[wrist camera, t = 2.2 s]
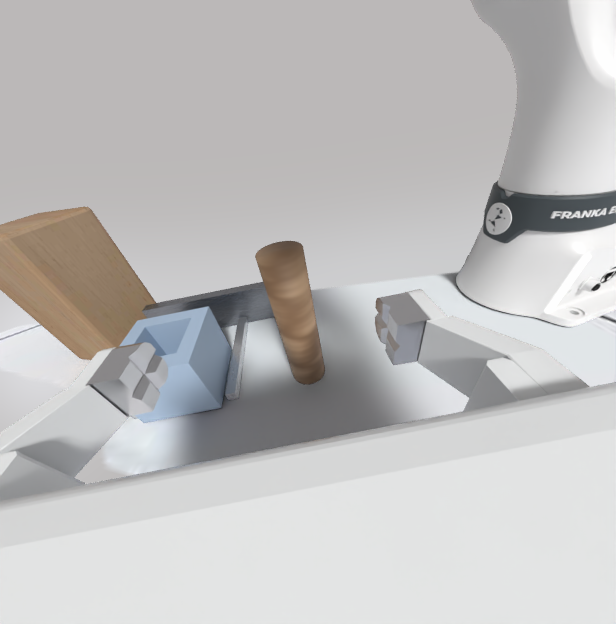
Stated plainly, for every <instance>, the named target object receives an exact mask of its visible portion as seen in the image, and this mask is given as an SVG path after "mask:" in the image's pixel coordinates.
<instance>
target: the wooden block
mask: <svg viewBox="0 0 616 624" xmlns="http://www.w3.org/2000/svg"><path fill="white" fill-rule="evenodd" d="M0 290H2V291H3V292H4V293H5V294H6V295H7V296H8V297H10V298H11V299H12V300H13V301H14V302H15V303H17V304H18V305H19V306H20V307H21V308H22V309H23V310H25V311H26V312H27V313H28V314H29V315H31V316H32V317H33V318H34V319H35V320H36V321H37V322H38V323H40V324H41V325H42V326H43V327H44V328H45V329H47V330H48V331H49V332H50V333H51V334H52V335H54V336H55V337H56V338H57V339H58V340H59V341H60V342H62V343H63V344H64V345H65V346H66V347H67V348H69V349H70V350H71V351H72V352H73V353H74V354H76V355H77V356H78V357H79V358H81V359H88V360H92V358H93V357H94V356H95V355H96V354H97V352H99V351H101V350H103V349H109V348H114V347H119V346H120V344H121V343H122V341H123V340H124V339H125V337H126V336H127V334H128V333H129V332H130V330H131V329H132V327H133V326H134V325H135V323H136V322H137V321H138V320H143V319H147V317H146V316H145V315H144V314H143V312H142V310H143V309H144V307H145V306H146V305H150V304H155V303H156V302H155V301H154V299H153V298H152V296H151V295H150V293H149V292H148V291H147V289H146V288H145V286H144V285H143V283H142V282H141V280H140V279H139V278H138V276H137V275H136V273H135V272H134V270H133V269H132V268H131V266H130V265H129V263H128V262H127V260H126V259H125V257H124V256H123V255H122V253H121V252H120V250H119V249H118V247H117V246H116V245H115V243H114V242H113V240H112V239H111V237H110V236H109V234H108V233H107V232H106V230H105V229H104V227H103V226H102V224H101V223H100V222H99V220H98V219H97V217H96V216H95V214H94V213H93V211H92V210H91V209H90V208H88V207H79V208H72V209H65V210H58V211H51V212H44V213H38V214H34V215H31V216H28V217H24V218H21V219H18V220H15V221H11V222H8V223H5V224H2V225H0Z"/></svg>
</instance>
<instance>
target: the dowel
mask: <svg viewBox="0 0 616 624" xmlns="http://www.w3.org/2000/svg"><path fill="white" fill-rule="evenodd" d="M255 257H256V260H257V263H258V267H259V270H260V273H261V276H262V279H263V282H264V285H265V288H266V292H267V295H268V298H269V301H270V304H271V307H272V310H273V313H274V316H275V320H276V323H277V326H278V329H279V332H280V335H281V338H282V341H283V345H284V348H285V351H286V354H287V357H288V360H289V363H290V366H291V369H292V373H293V376H294V378H295V379H296V381H298V382H299V383H302V384H313V383H315V382H317V381H319V380H320V379H321V378H322V377H323V375H324V372H325V367H324V362H323V356H322V350H321V345H320V339H319V334H318V328H317V323H316V317H315V312H314V306H313V300H312V295H311V289H310V284H309V279H308V273H307V267H306V262H305V256H304V250H303V246H302V245H301V244H300V243H298V242H295V241H282V242H277V243H273V244H270V245H268V246H265V247H263V248H262V249H261V250H259V251H258V252H257V253H256V256H255Z"/></svg>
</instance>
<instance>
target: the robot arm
mask: <svg viewBox="0 0 616 624" xmlns="http://www.w3.org/2000/svg"><path fill="white" fill-rule="evenodd" d="M471 2H472V4H473V7H474V9H475V11H476V13H477V14H478V16H479V17H480V19H481V20H482V21H483V22H484V23H486V24H487V25H489V26H490V27H491V28H492V29H493V30H494V31H495V32H496V33H497V34H498V35H499V36H500V37H501V39H502V40H503V42H504V43H505V45H506V47H507V49H508V51H509V53H510V55H511V58H512V61H513V64H514V68H515V73H516V80H517V104H516V112H515V117H514V122H513V128H512V132H511V136H510V141H509V145H508V149H507V153H506V156H505V160H504V164H503V167H502V171H501V175H500V177H499V180H498V181H497V182H496V183H494V185H493V187H492V190H491V193H490V196H489V199H488V202H487V205H486V209H485V215H484V224H483V226H482V228H481V230H480V232H479V235H478V237H477V239H476V242H475V244H474V246H473V248H472V250H471V252H470V255H468V257H467V259H466V262H465V264H464V265H463V267H462V269H461V270H460V272H459V273H458V275H457V277H456V283H457V286H458V288H459V289H460V290H461V291H462V292H463V293H464V294H465V295H466V296H467V297H469V298H470V299H472V300H474V301H475V302H477V303H479V304H482V305H484V306H486V307H489V308H492V309H495V310H498V311H502V312H506V313H510V314H516V315H523V316H529V317H535V318H539V319H542V320H545V321H548V322H551V323H554V324H557V325H561V326H566V327H575V326H578V325H580V324H583V323H585V322H588V321H590V320H592V319H595V318H597V317H600V316H602V315H605V314H607V313H609V312H612V311H614V310H616V0H471ZM376 309H377V311H378V314H377V316H376V317H375V326H376V332H377V334H378V337H379V339H380V341H381V342H382V343H384V344H386V353H387V355H388V357H389V358H390V360H391V362H392V364H393V365H398V364H404V363H410V362H416V361H418V363H419V364H421V365H422V366H424V367H425V368H427V369H428V370H430V371H431V372H432V373H434V374H435V375H437V376H438V377H440V378H441V379H443V380H444V381H446V382H447V383H448V384H450V385H451V386H453V387H454V388H456V389H457V390H459V391H460V392H462V393H463V394H464V395H466V396H467V397H469V400H468V402H467V404H466V406H465V408H464V411H463V412H458V413H453V414H448V415H443V416H437V417H432V418H427V419H422V420H417V421H412V422H406V423H401V424H396V425H391V426H386V427H380V428H375V429H370V430H365V431H360V432H354V433H349V434H344V435H339V436H334V437H328V438H323V439H318V440H313V441H308V442H302V443H297V444H292V445H287V446H282V447H276V448H271V449H266V450H261V451H256V452H251V453H245V454H240V455H235V456H230V457H225V458H220V459H214V460H209V461H204V462H199V463H194V464H189V465H183V466H178V467H173V468H168V469H163V470H158V471H152V472H147V473H142V474H137V475H132V476H126V477H121V478H116V479H111V480H106V481H101V482H95V483H90V484H85V483H84V482H82V481H80V480H77V479H75V478H74V477H75V476H76V475H77V474H78V473H79V471H80V470H82V468H83V467H84V466H85V465H86V464H87V463H88V462H89V461H90V460H91V459H92V457H93V456H94V455H95V454H96V453H97V452H98V451H99V450H100V449H101V448H102V446H103V445H104V444H105V443H106V442H107V441H108V440H109V439H110V438H111V437H112V435H113V434H114V433H115V432H116V431H117V430H118V429H119V428H120V427H121V426H122V424H123V423H124V422H125V421H126V420H127V419H128V417H129V416H134V415H138V414H143V413H147V412H152V411H153V410H154V408H155V405H156V403H157V401H158V399H159V396H160V392H159V388H161V387H162V386H163V385H164V384H165V382H166V380H167V377H168V366H167V364H166V362H165V360H164V359H163V358H162V357H159V356H157V355H155V352H156V349H155V348H154V347H153V346H152V344H151V343H147V342H143V343H137V344H131V345H125V346H119V347H114V348H109V349H103V350H101V351H99V352H97V354H96V355H95V356H94V357H93V358H92V360H91V361H90V362H89V363H88V365H87V366H86V367H85V368H84V370H83V371H82V372H81V373H80V374H79V376H78V377H77V378H76V379H75V381H74V382H73V383H72V384H71V386H70V387H69V388H68V389H66V390H62V391H61V392H59V393H58V394H56V395H55V396H54V397H52V398H51V399H49V400H48V401H46V402H45V403H43V404H42V405H40V406H39V407H37V408H36V409H35V410H33V411H32V412H30V413H29V414H27V415H26V416H24V417H23V418H21V419H20V420H19V421H17V422H16V423H14V424H13V425H11V426H10V427H8V428H7V429H5V430H4V431H2V432H1V433H0V624H616V382H614V383H608V384H603V385H598V386H593V387H589V386H588V385H587V384H586V383H584V382H583V381H582V380H581V379H579V378H578V377H577V376H576V375H575V374H573V373H572V372H571V371H570V370H568V369H567V368H566V367H565V366H563V365H562V364H561V363H560V362H558V361H557V360H556V359H555V358H553V357H552V356H551V355H550V354H548V353H547V352H546V351H545V350H543V349H541V348H539V347H536V346H533V345H531V344H528V343H525V342H522V341H520V340H517V339H514V338H511V337H509V336H506V335H503V334H501V333H498V332H495V331H492V330H490V329H487V328H484V327H482V326H479V325H476V324H473V323H471V322H468V321H465V320H463V319H460V318H457V317H454V316H449V317H448V316H447V315H446V314H445V313H444V312H443V311H442V310H441V309H440V308H439V307H438V306H437V305H436V304H435V303H434V302H433V301H432V300H431V299H430V298H429V297H428V295H427V294H426V293H425V292H424V291H423V290H420V289H418V290H413V291H409V292H405V293H401V294H396V295H391V296H386V297H381V298H377V300H376Z"/></svg>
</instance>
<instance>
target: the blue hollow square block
mask: <svg viewBox="0 0 616 624" xmlns="http://www.w3.org/2000/svg"><path fill="white" fill-rule="evenodd" d="M143 342H147V343H151V344H152V346H153V347H154V348H155V349H156V352H155V355H157V356H159V357H162V358H163V359H164V360H165V362H166V364H167V366H168V377H167V380H166V382H165V384H164V385H163V386H162V387H161V388H159V392H160V396H159V399H158V401H157V403H156V405H155V408H154V410H153V411H152V412H147V413H143V414H138V415H135V416H136V417H137V418H138V419H140V420H141V421H142V422H143V423H147V422H152V421H157V420H162V419H167V418H172V417H177V416H182V415H187V414H192V413H197V412H202V411H207V410H212V409H218V408H221V406H222V401H223V396H224V390H225V385H226V379H227V374H228V368H229V363H230V358H231V352H232V349H231V347H230V345H229V343H228V342H227V340H226V338H225V336H224V334H223V332H222V330H221V328H220V326H219V325H218V323H217V321H216V319H215V317H214V315H213V313H212V311H211V309H210V308H209V306H208V307H203V308H198V309H193V310H188V311H183V312H178V313H173V314H168V315H163V316H158V317H153V318H148V319H143V320H138V321H137V322H136V323H135V325H134V326H133V327H132V329H131V330H130V332H129V333H128V334H127V336H126V337H125V339H124V340H123V341H122V343H121V344H120V346H125V345H131V344H137V343H143Z"/></svg>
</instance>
